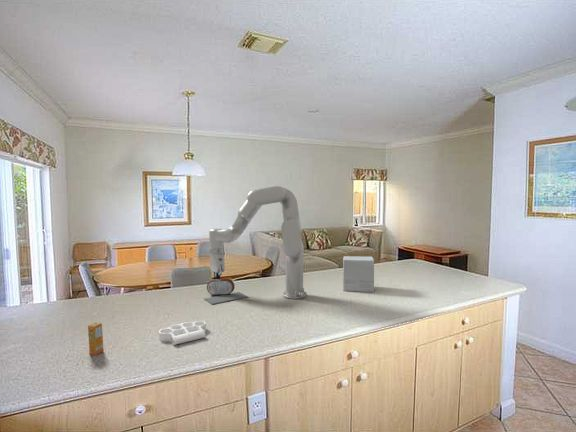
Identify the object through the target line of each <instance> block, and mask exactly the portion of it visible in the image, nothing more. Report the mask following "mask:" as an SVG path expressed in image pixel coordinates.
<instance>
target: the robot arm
mask: <svg viewBox="0 0 576 432" xmlns="http://www.w3.org/2000/svg"><path fill="white" fill-rule="evenodd" d="M275 203H276V204H278V203H280V204H281V208H282V209H281V210H282V218H283V222H281V223H282V224H281V227H280V228H281V230H280V231H281V239H282V248H283V252H284V254H285V291H284V292H283V293H282V296H283V298H287V299H292V300H298V299H303V298H305V297H307V292H306V291H305V288H304V255H305V253H304V250H305V247H304V242H303V240H302V235H301V228H302V226H301V221H300V213H299V206H298V200H297V197H296V196H295V194H294V193H293V191H291V190H290V189H288V188H285V187H283V186H280V185H279V186H278V185H275V186H269V187H264V188H258V189H252V190H250V191H249V192H248V194H247V196H246V200H245V201H244V202H243V204H242V205H241V207H239V209H238V212H237V217H236V219H235V220H234V222H233V223H232V224H231V226H230V227H229V228H226V229H222V228H211V229H209V233H208V234H209V236H208V238H209V239H208V240H209V241H208V243H209V255H210V256H209V269H210V271H211V272H212V275H213V276H212V277H213V279H221V276H223V273H224V272H225V270H226V266H225V265H226V264H225V258H224V257H225V256H224V253H225V252H224V243H225V244H230V243H233V242H236V240H238V239H239V238H240V237H241V235H242V234H243V233H244V232H245V230H246V228H248V226H249V224H250V223H251V222H252V220H253V218H254V217H255V216H256V214H257V213H258V211H259V210H260V209H261V208H262V207H263V206H265V205H271V204H275Z"/></svg>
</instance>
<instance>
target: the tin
mask: <svg viewBox="0 0 576 432" xmlns="http://www.w3.org/2000/svg"><path fill="white" fill-rule="evenodd" d="M235 286H236V285H235V283H234V281H233V280H231V279H230V278H220V279H214V278H212V279H211V280H210V281H208V283H207V284H206V290H207V292H208V293H209V294H210V295H212V296H221V295H228V294H231V293H234V290H235V289H236V288H235Z"/></svg>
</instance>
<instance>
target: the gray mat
mask: <svg viewBox="0 0 576 432" xmlns="http://www.w3.org/2000/svg"><path fill="white" fill-rule="evenodd" d="M247 298H249V297H248V295H247V294H244V293H242V292H240V291H239V292H232V293H230V294H228V295H215V296H211V297H205V298H204V301H206V302H207V303H208V304H210V305H213V306H214V305H219V304H223V303H227V302H233V301H237V300H242V299H247Z"/></svg>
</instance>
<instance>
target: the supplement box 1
mask: <svg viewBox="0 0 576 432" xmlns="http://www.w3.org/2000/svg"><path fill="white" fill-rule="evenodd" d="M87 332H88V335H87V336H88V346H89V347H88V349H89V350H88V351H89V353H88V354H90V355H94V356H97V355H99V354H101V353H103V352H104V336H103V335H104V334H103V323H102V322H100V323H99V322H93V323H91V324H88V325H87Z"/></svg>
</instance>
